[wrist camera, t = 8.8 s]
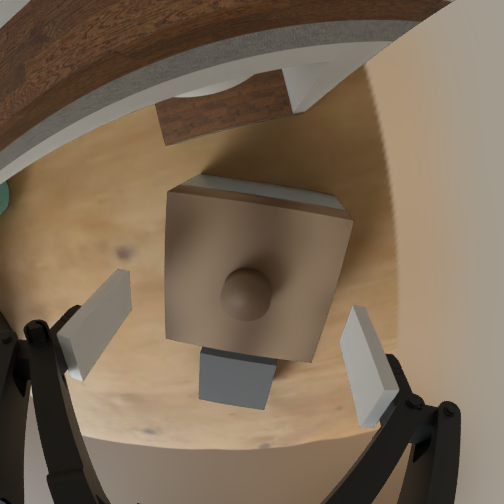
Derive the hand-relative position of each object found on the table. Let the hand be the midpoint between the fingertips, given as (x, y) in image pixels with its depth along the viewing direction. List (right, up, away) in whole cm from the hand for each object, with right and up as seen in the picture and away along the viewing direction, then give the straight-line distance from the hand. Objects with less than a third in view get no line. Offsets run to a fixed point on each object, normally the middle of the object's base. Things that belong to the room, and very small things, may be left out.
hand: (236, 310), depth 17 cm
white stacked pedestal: (-2, +18, +3) cm, 19 cm away
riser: (-1, -8, +14) cm, 16 cm away
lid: (+1, +2, +4) cm, 5 cm away
